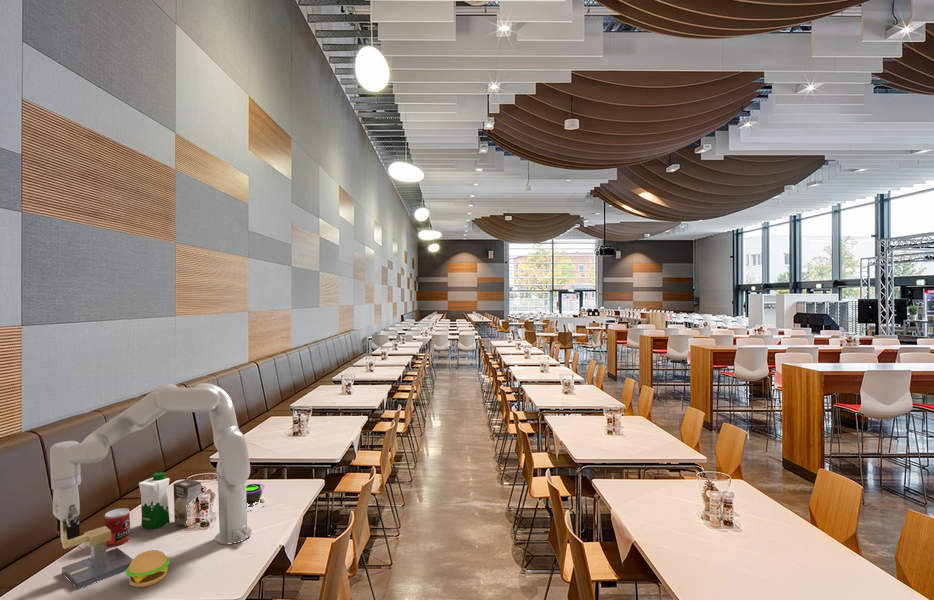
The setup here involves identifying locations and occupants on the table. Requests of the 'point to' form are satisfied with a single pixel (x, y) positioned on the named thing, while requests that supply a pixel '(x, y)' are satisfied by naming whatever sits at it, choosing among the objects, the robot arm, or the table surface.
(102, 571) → the grey slotted plate
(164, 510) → the milk carton
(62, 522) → the wooden zigzag joint
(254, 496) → the toy cauldron
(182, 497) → the coffee box
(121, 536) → the canned food
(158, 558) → the hamburger
